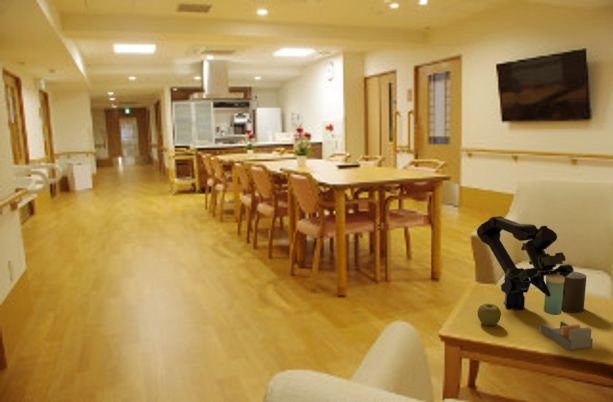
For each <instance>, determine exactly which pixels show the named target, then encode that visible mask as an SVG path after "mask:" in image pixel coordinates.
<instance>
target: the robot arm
mask: <svg viewBox="0 0 613 402" xmlns="http://www.w3.org/2000/svg"><path fill="white" fill-rule="evenodd" d="M502 231H504V232H507V233H510V234H511V235H512V237H513V238H515V239H516V240H517V241H520V242H523V241H524V242H523V243H522V246H521V251H526V254H527V256H528V258H529V262H528V263H529V265H530V266H531V265H532V266H533V267H531V268H525V269H524V268H523V267H519V268H518V267H517V266H516V264H515V263H514V261H513V259H512V258H511V256H510V254H509V253H508V251H507V249H506V248H505V246H504V244H503V242H502V241H501V232H502ZM476 236H477V237H478V238H479V240H480V241H481V243H483V244H485V245H487V246H488V247H489V248H490V251H491V252H492V253H493V255H494V257H495V259H496V260H497V262H498V263H499V264H498V265H499V266H500V267H501V269H502V271H503V272H504V278H503V279H504V282H503V283H502V284H500V289H501V292H503V293H504V301H503V305H504V307H505V309H506V310H519V311H520V310H521V311H524V310H525V302H526V299H525V298H526V296H525V295H524V294H525V293H528V292H529V289H530V287H531V285H532V286H534V287H535V288H536V289H538V290H539V291H540V292H542V294H543V295H544V296H545V295H546V296H548V297H549V296H550V292H549V290H548V288H547V286H546V280H545V277H546V275H547V274H558V275H562V276H564V277H566V276H568V275H569V274H570V273H572V272H573V271H575V269H574V268H573V266H572V264H569V263H568V264H563V262H566V256H565V254H564V252H561V251H560V252H556V253H554V255H550V253H546V251H545V250H547V249H548V248H549V247H550V246H551V245H553V244H554V243H555V242H556V241H557V240H558V235H557V233H556V232H555V231H554V230H553V229H552V228H549V227H548V226H547V225H541V226H540V227H539V228H537V226H536V225H535V224H531V223H518V222H516V221H514V220H511V219H508V218H505V217H504V216H501V215H498V216H491V217H489V218H488V220H487V221H485V222H482V223H481V224H480V225H479V226H478V228H477V229H476ZM525 241H527V242H525ZM557 265H559V266H557ZM564 294H565V286H564V287H563V295H564Z"/></svg>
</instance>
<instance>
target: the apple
mask: <svg viewBox="0 0 613 402" xmlns="http://www.w3.org/2000/svg"><path fill="white" fill-rule="evenodd" d="M477 317H478V320H479V322H480V323H481V324H482V325H485V326H489V327H490V326H496V325H498V323H499V322H500V320H501V317H502V313H501V310H500V308H499V306H497V305H495V304H492V303H484V304H481V305H479V307H478V309H477Z"/></svg>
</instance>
